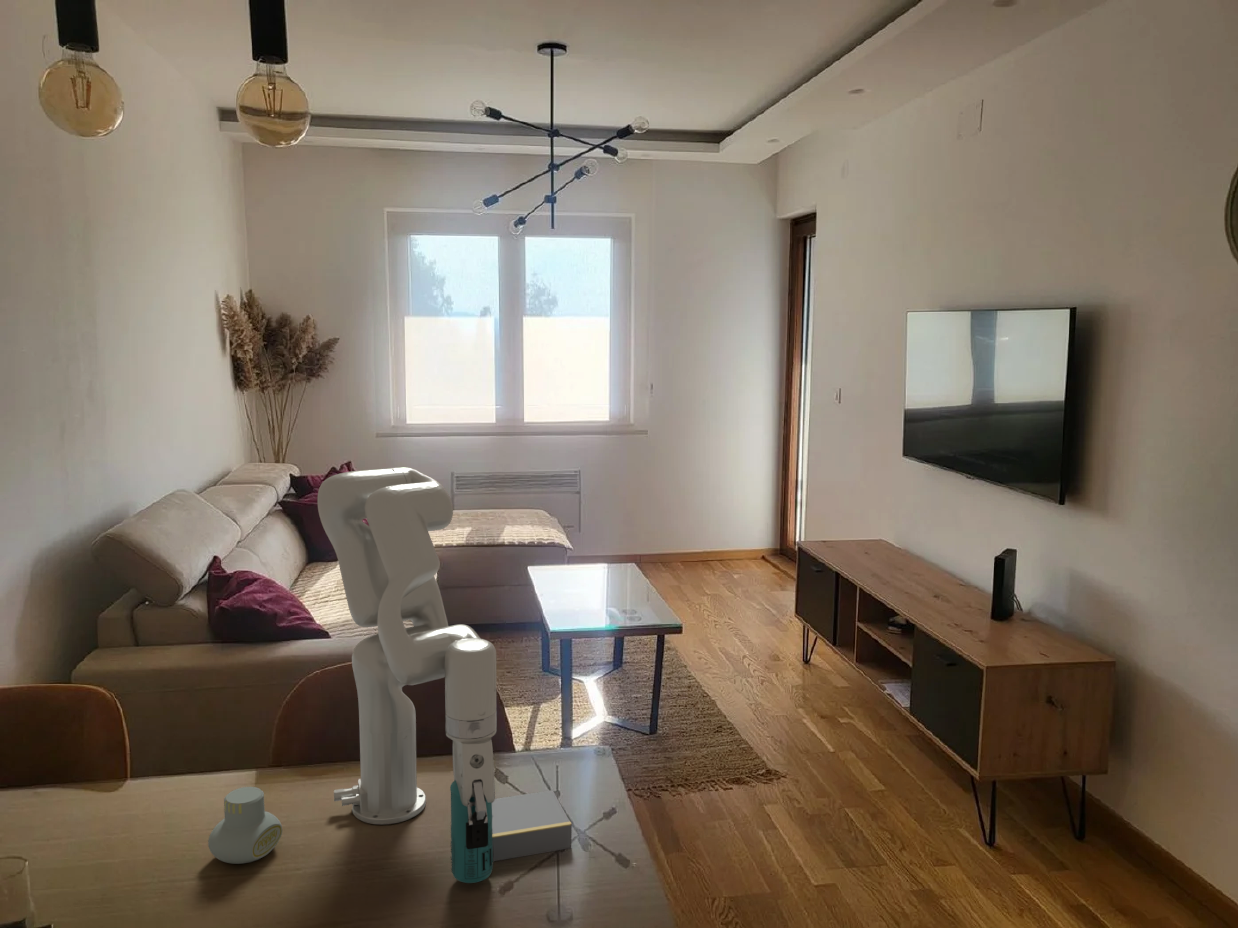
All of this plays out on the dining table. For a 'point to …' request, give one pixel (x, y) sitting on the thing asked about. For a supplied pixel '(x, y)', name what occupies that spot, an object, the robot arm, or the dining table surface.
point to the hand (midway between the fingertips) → (471, 831)
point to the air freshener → (244, 828)
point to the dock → (529, 825)
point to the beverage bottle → (465, 861)
